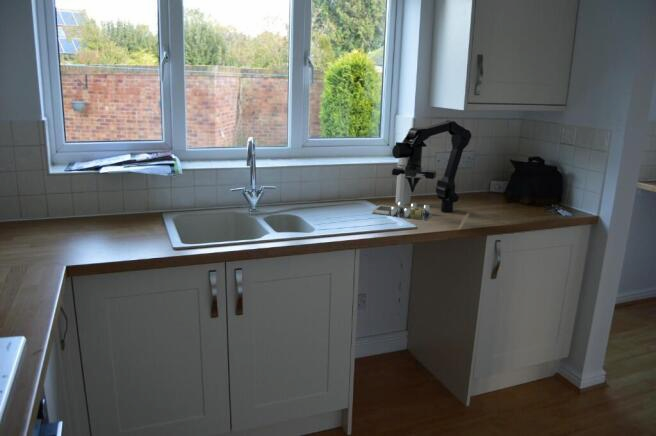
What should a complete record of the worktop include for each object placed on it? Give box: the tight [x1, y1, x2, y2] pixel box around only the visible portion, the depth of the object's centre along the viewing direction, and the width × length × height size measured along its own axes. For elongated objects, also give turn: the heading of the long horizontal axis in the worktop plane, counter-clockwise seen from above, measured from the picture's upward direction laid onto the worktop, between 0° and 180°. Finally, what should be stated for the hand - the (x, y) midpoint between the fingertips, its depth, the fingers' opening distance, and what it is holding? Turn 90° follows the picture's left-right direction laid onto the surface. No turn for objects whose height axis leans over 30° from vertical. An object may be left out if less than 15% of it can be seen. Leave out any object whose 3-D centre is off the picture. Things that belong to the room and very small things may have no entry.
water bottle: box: [395, 158, 412, 206], centre depth 256 cm, size 9×8×25 cm
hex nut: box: [410, 207, 424, 217], centre depth 235 cm, size 5×6×3 cm
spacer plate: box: [371, 202, 433, 222], centre depth 237 cm, size 13×25×5 cm, turn 68°
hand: (412, 192), depth 233 cm, fingers closed
